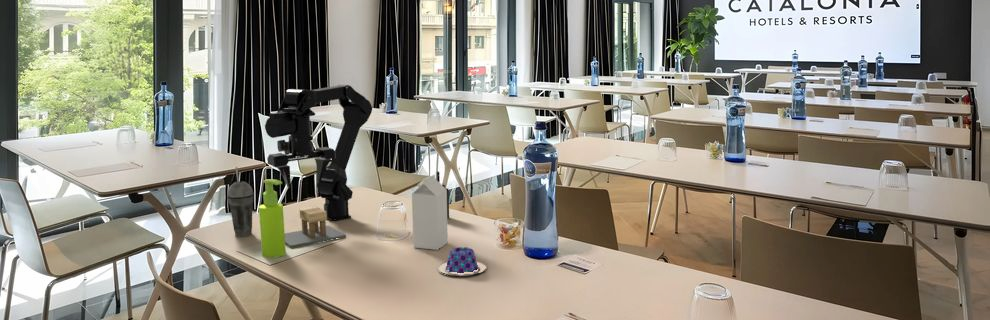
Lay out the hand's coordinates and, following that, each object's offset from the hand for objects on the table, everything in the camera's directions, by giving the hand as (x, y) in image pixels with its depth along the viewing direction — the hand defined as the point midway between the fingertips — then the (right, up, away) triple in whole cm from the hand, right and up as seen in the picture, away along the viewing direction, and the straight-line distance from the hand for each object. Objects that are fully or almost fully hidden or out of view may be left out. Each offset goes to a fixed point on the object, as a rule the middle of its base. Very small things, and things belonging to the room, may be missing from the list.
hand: (304, 185), depth 204 cm
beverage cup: (-16, -14, -4) cm, 22 cm away
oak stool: (+5, -14, -7) cm, 16 cm away
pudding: (+48, -20, -34) cm, 62 cm away
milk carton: (+38, -16, -15) cm, 44 cm away
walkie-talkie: (+39, -11, +12) cm, 43 cm away
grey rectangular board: (+4, -15, -7) cm, 17 cm away
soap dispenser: (-2, -18, -22) cm, 28 cm away
